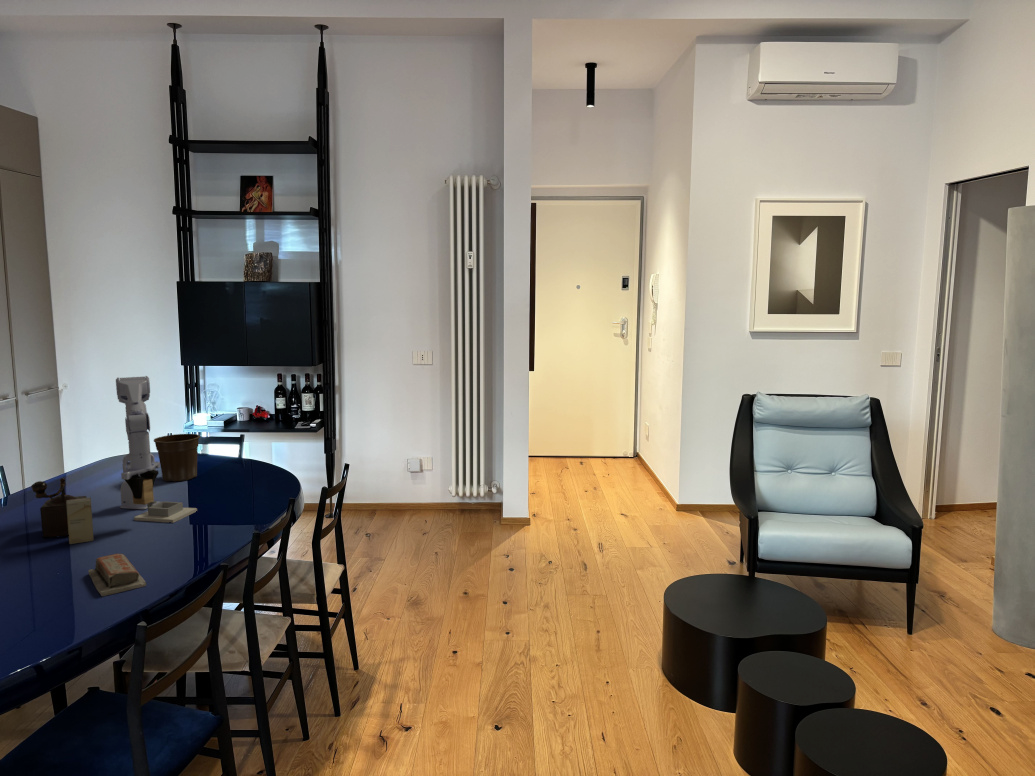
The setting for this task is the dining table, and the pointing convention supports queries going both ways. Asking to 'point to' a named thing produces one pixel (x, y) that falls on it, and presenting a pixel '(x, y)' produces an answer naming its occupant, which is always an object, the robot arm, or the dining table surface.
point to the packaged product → (115, 575)
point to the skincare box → (79, 520)
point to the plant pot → (178, 456)
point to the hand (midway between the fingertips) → (143, 496)
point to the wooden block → (145, 493)
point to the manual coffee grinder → (54, 509)
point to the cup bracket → (165, 512)
